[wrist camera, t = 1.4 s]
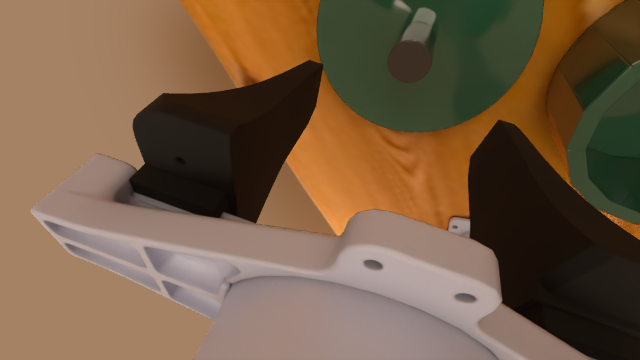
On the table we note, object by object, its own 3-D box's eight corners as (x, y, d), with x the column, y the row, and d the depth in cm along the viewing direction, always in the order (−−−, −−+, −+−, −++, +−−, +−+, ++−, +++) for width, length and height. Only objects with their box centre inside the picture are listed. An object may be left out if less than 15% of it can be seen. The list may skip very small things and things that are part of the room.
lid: (507, 129, 22) (514, 168, 19) (332, 121, 27) (315, 151, 23) (581, -126, 14) (616, -133, 11) (307, -77, 18) (275, -71, 15)
